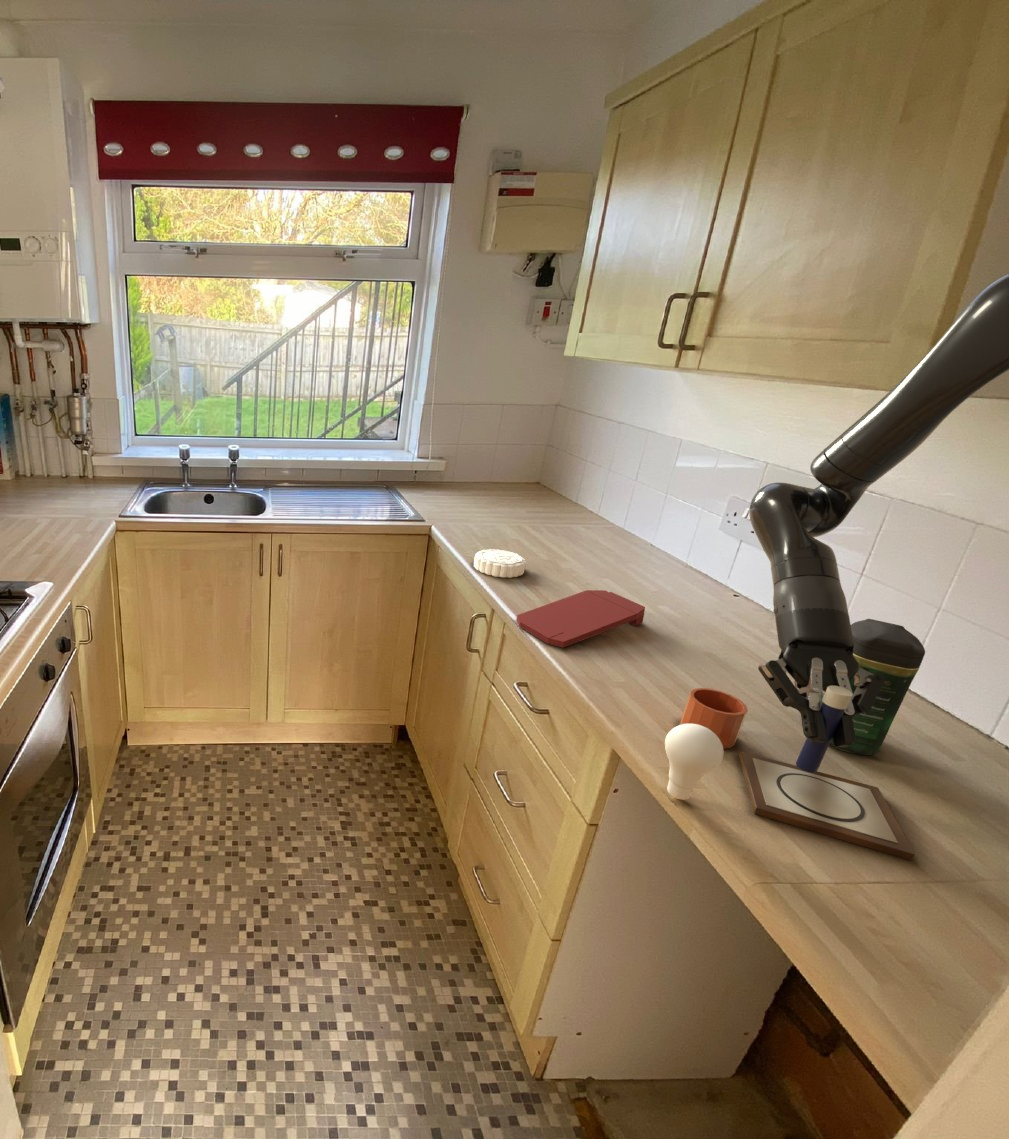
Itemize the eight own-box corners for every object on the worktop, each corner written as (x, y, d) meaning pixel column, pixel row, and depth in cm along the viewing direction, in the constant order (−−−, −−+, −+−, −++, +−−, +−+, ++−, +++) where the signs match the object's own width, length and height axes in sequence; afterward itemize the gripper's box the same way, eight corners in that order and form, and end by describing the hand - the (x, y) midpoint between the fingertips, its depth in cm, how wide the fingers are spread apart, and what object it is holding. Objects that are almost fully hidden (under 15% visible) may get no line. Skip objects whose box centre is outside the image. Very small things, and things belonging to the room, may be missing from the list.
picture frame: (875, 793, 84) (879, 785, 83) (911, 861, 73) (916, 852, 73) (738, 756, 90) (741, 749, 90) (753, 813, 80) (757, 806, 79)
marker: (815, 765, 83) (849, 688, 79) (820, 775, 81) (855, 698, 77) (792, 759, 84) (825, 683, 80) (796, 769, 82) (830, 692, 78)
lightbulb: (678, 779, 86) (701, 711, 82) (716, 811, 80) (742, 741, 76) (639, 783, 85) (660, 716, 80) (674, 816, 79) (699, 745, 75)
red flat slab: (556, 665, 120) (651, 627, 128) (558, 643, 118) (654, 606, 126) (510, 637, 131) (600, 603, 138) (511, 616, 129) (603, 583, 136)
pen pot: (731, 729, 96) (743, 696, 94) (738, 754, 91) (751, 720, 88) (677, 715, 100) (688, 683, 97) (681, 739, 94) (692, 705, 92)
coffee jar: (882, 764, 89) (937, 650, 82) (810, 743, 93) (857, 633, 86) (872, 731, 96) (922, 624, 89) (805, 713, 101) (848, 609, 94)
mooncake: (529, 579, 151) (531, 566, 150) (477, 576, 153) (479, 562, 151) (517, 562, 162) (520, 549, 161) (469, 558, 164) (472, 546, 162)
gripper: (768, 600, 83) (785, 730, 77) (892, 612, 80) (921, 749, 74) (737, 618, 90) (751, 739, 84) (851, 630, 87) (873, 757, 81)
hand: (830, 743), depth 79 cm, fingers closed on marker, 2 cm apart
